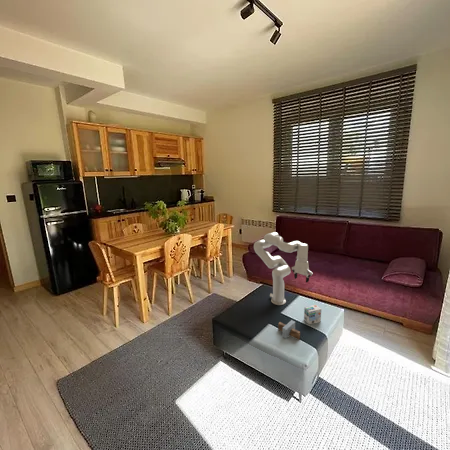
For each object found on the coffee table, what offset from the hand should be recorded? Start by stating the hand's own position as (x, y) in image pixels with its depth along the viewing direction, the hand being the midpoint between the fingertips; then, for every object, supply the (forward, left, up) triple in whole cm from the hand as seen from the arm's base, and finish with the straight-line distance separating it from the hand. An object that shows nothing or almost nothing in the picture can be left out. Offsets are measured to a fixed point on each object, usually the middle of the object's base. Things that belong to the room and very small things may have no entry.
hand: (301, 279), depth 185 cm
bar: (+7, -29, -28) cm, 41 cm away
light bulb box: (+12, -4, -29) cm, 31 cm away
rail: (+7, -29, -28) cm, 41 cm away
